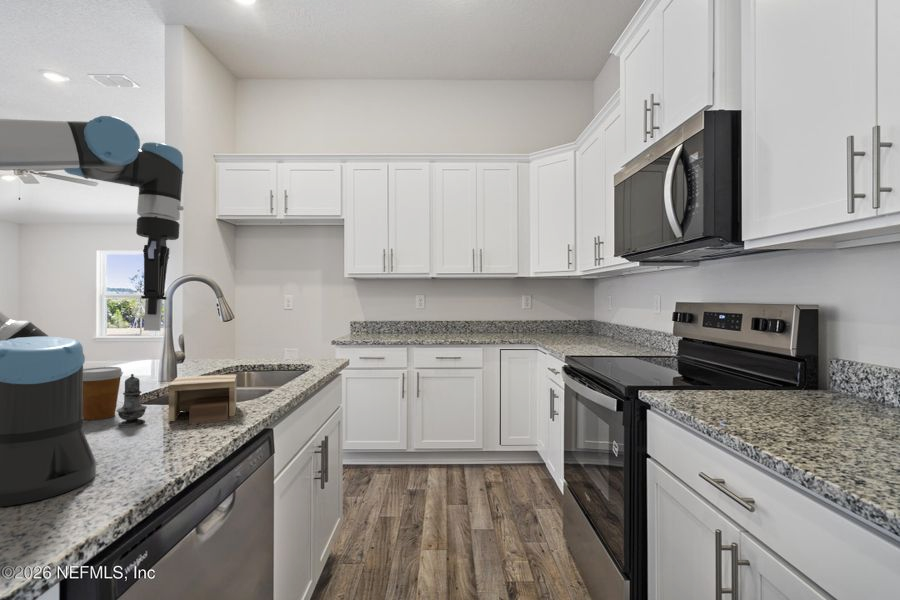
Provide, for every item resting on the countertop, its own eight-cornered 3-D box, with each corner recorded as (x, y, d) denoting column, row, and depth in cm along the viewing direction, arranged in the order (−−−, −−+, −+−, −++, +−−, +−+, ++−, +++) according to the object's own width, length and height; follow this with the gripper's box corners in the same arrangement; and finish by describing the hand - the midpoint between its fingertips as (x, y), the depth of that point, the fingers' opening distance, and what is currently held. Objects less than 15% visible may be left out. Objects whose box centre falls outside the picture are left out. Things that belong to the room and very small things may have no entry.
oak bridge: (234, 416, 112) (234, 381, 112) (168, 422, 106) (168, 385, 106) (236, 406, 122) (236, 374, 122) (176, 411, 116) (176, 377, 116)
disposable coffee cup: (70, 424, 104) (71, 373, 104) (78, 414, 112) (78, 368, 112) (120, 418, 109) (120, 370, 109) (124, 410, 117) (125, 365, 117)
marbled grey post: (142, 425, 103) (143, 374, 103) (112, 428, 101) (113, 376, 101) (149, 419, 109) (150, 371, 108) (121, 421, 106) (121, 372, 106)
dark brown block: (226, 422, 108) (226, 406, 108) (189, 425, 105) (189, 409, 105) (230, 410, 119) (230, 395, 119) (197, 413, 116) (197, 398, 116)
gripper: (174, 215, 88) (167, 332, 87) (183, 226, 100) (177, 329, 99) (129, 210, 85) (122, 331, 84) (144, 222, 97) (137, 328, 96)
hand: (152, 330), depth 92 cm, fingers closed
